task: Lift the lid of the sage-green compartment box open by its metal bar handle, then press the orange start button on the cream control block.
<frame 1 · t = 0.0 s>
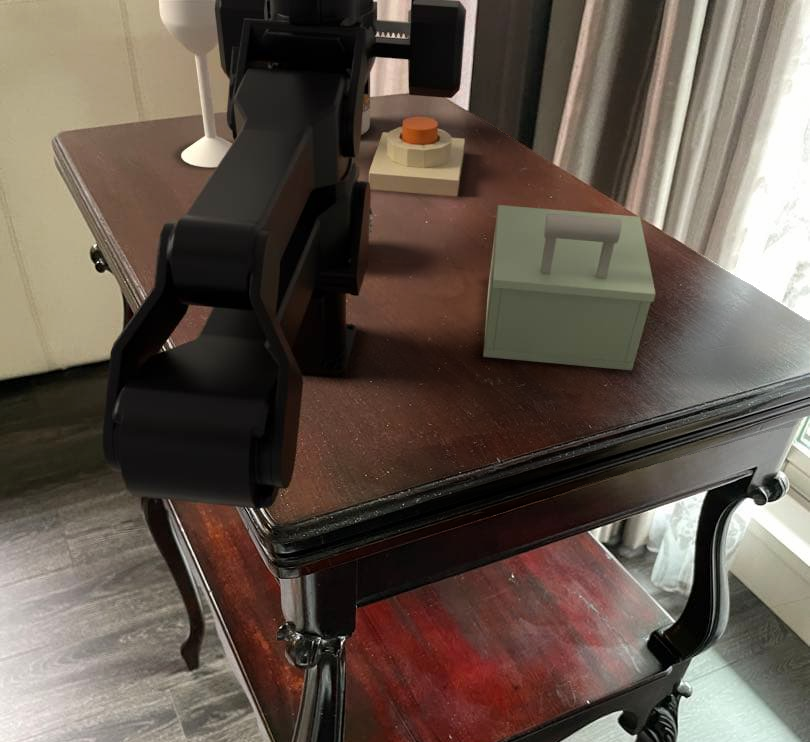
hand: (357, 13, 70), 17 cm above the table, tool horizontal, fingers open, 9 cm apart
control block: (418, 171, 88), on the table
champagne flute: (213, 156, 90), on the table
start button: (419, 131, 86), point 4 cm above the table, slide at 0.1 cm
compartment: (555, 324, 68), on the table
compartment lid: (575, 223, 62), point 9 cm above the table, hinge at 0.0°
bath foam: (339, 130, 96), on the table
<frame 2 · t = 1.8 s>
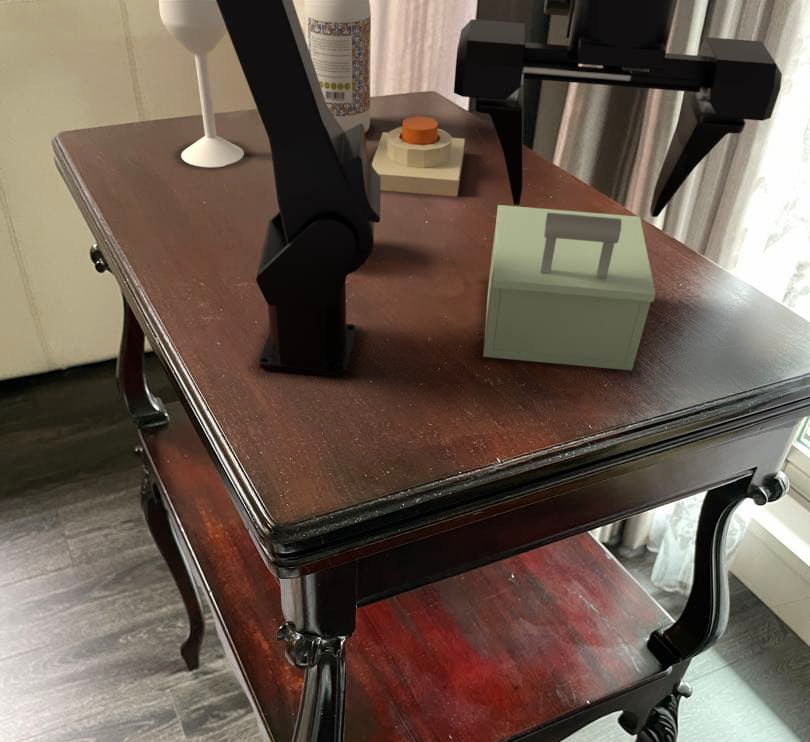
hand: (584, 208, 57), 12 cm above the table, tool pointing down, fingers open, 9 cm apart
nothing on the table moved.
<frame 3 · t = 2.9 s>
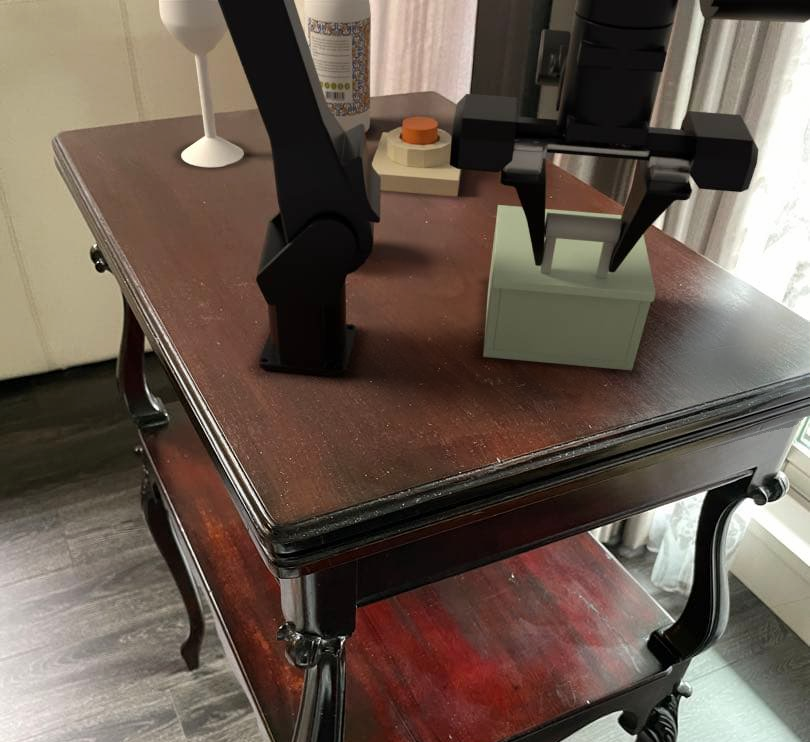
hand: (574, 266, 60), 8 cm above the table, tool pointing down, fingers closed on compartment lid, 5 cm apart
compartment lid: (575, 223, 62), point 9 cm above the table, hinge at 0.0°, touching gripper
everything else where it was.
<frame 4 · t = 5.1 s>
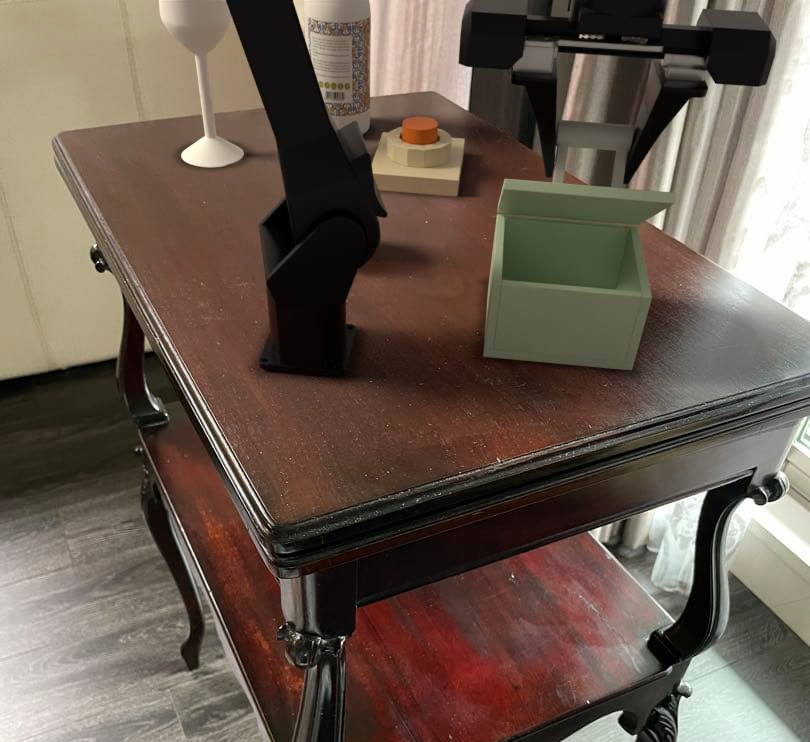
hand: (586, 179, 58), 12 cm above the table, tool pointing down, fingers closed on compartment lid, 5 cm apart
compartment lid: (581, 173, 61), point 12 cm above the table, hinge at 31.2°, touching gripper
everything else where it was.
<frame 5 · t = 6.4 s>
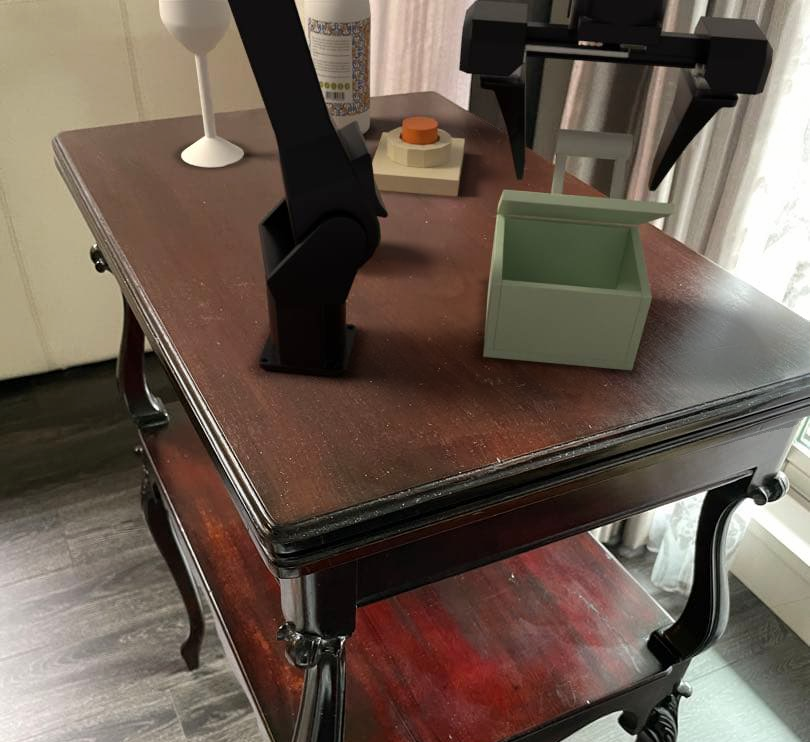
hand: (585, 183, 59), 12 cm above the table, tool pointing down, fingers open, 9 cm apart
compartment lid: (581, 178, 61), point 11 cm above the table, hinge at 28.0°
everything else where it was.
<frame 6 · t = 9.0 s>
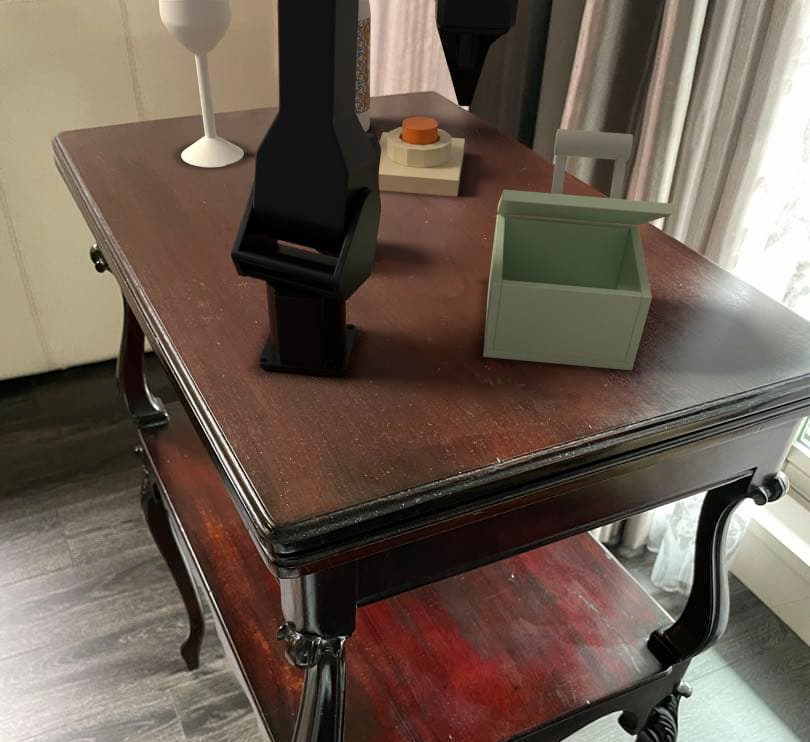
hand: (461, 87, 76), 10 cm above the table, tool pointing down, fingers open, 9 cm apart
nothing on the table moved.
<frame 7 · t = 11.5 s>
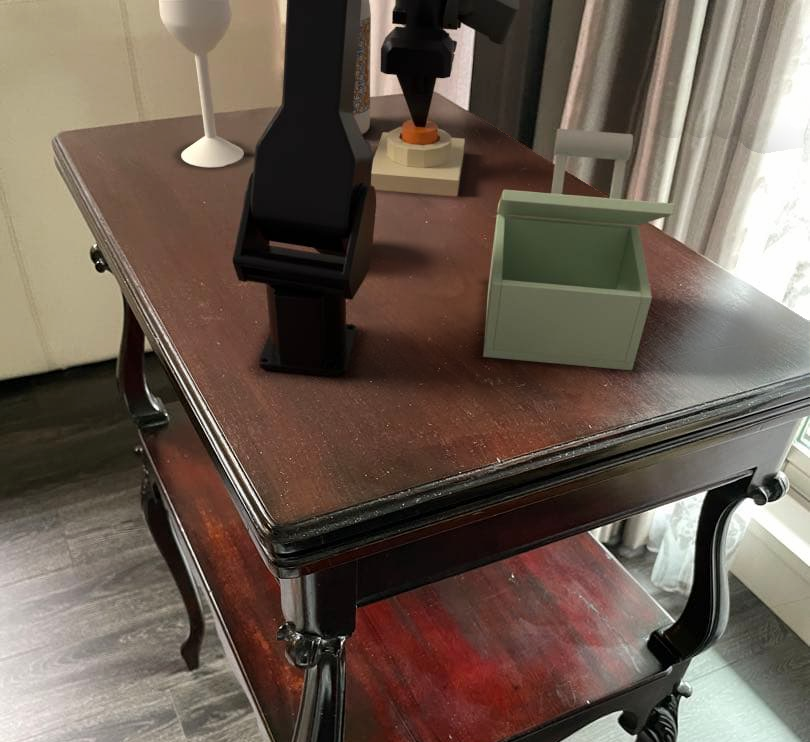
hand: (420, 125, 85), 5 cm above the table, tool pointing down, fingers closed, pressing on start button
start button: (419, 134, 86), point 4 cm above the table, slide at -0.1 cm, touching gripper
everything else where it was.
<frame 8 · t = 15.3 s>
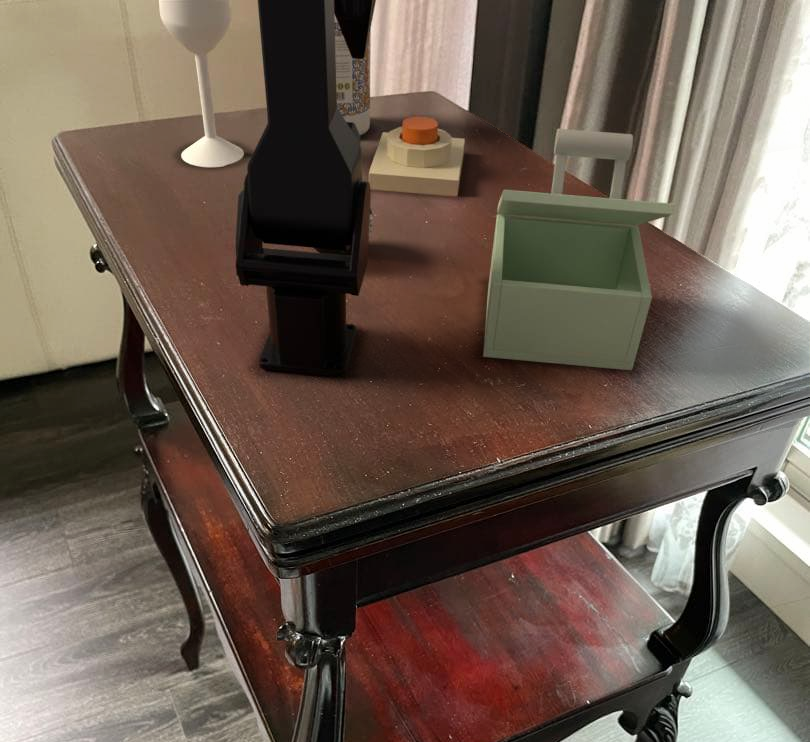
hand: (358, 57, 73), 13 cm above the table, tool pointing down, fingers closed
start button: (419, 131, 86), point 4 cm above the table, slide at 0.1 cm
everything else where it was.
at the end: compartment lid at +28° (first picture: +0°); start button pushed in 1.1 cm at the most during the clip, back to where it started at the end; start button slide at 0.1 cm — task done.
